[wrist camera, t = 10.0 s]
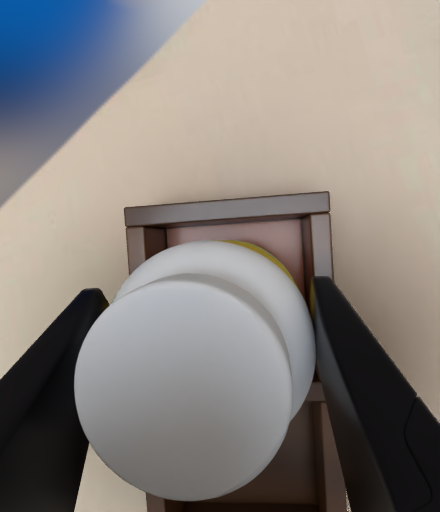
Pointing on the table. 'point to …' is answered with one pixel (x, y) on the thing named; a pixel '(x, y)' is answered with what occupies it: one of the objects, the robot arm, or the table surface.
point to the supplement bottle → (196, 369)
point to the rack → (302, 270)
